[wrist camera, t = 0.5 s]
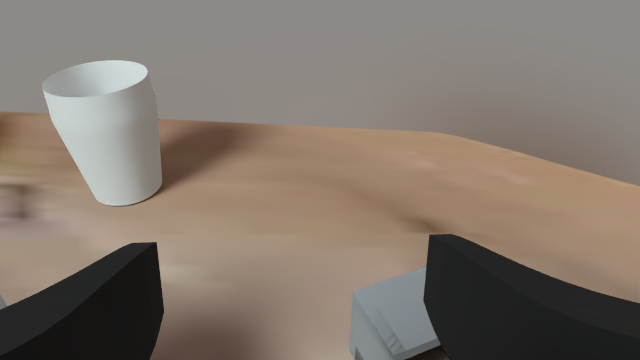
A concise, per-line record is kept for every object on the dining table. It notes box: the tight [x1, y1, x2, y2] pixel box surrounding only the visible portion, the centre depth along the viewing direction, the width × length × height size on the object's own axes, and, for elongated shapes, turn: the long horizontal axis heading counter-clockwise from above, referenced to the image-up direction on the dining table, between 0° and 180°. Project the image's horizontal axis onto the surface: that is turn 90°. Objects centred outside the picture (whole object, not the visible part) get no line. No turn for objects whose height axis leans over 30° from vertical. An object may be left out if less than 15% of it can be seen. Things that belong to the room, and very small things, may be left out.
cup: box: [42, 60, 162, 206], centre depth 43 cm, size 9×9×12 cm
